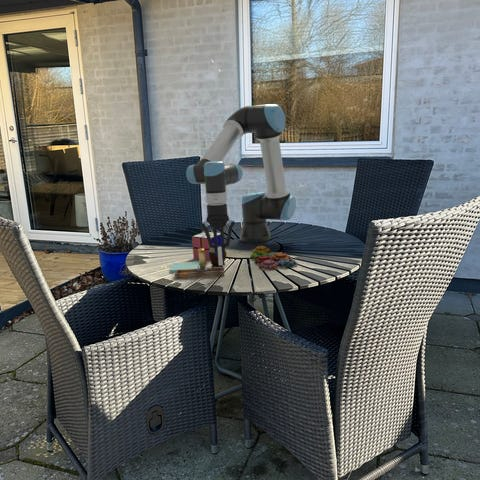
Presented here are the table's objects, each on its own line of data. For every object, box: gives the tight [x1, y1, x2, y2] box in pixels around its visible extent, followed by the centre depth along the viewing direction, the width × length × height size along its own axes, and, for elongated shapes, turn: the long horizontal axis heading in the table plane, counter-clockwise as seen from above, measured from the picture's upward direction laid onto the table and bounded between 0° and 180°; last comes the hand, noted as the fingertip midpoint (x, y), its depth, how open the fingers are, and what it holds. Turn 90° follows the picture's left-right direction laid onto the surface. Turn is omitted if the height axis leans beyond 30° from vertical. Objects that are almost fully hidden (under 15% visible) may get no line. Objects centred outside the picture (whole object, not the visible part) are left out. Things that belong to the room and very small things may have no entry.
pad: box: [169, 261, 200, 274], centre depth 184 cm, size 11×10×1 cm
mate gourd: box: [201, 230, 227, 268], centre depth 184 cm, size 8×8×15 cm
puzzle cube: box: [191, 231, 221, 262], centre depth 199 cm, size 10×10×10 cm
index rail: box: [174, 266, 225, 280], centre depth 175 cm, size 19×5×2 cm, turn 91°
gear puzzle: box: [249, 245, 299, 272], centre depth 192 cm, size 31×16×4 cm, turn 12°
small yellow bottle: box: [198, 248, 209, 272], centre depth 174 cm, size 4×3×9 cm
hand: (220, 264), depth 174 cm, fingers closed
